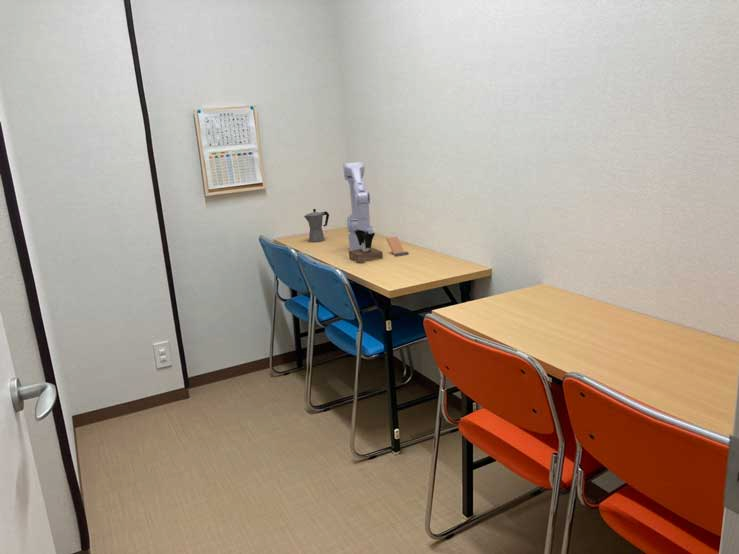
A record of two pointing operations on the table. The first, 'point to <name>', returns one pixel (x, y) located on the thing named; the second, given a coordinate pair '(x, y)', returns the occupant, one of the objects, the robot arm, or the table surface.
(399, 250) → the latch flap
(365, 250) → the steel peg
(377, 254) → the hitch block
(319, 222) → the coffeepot
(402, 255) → the latch bracket
